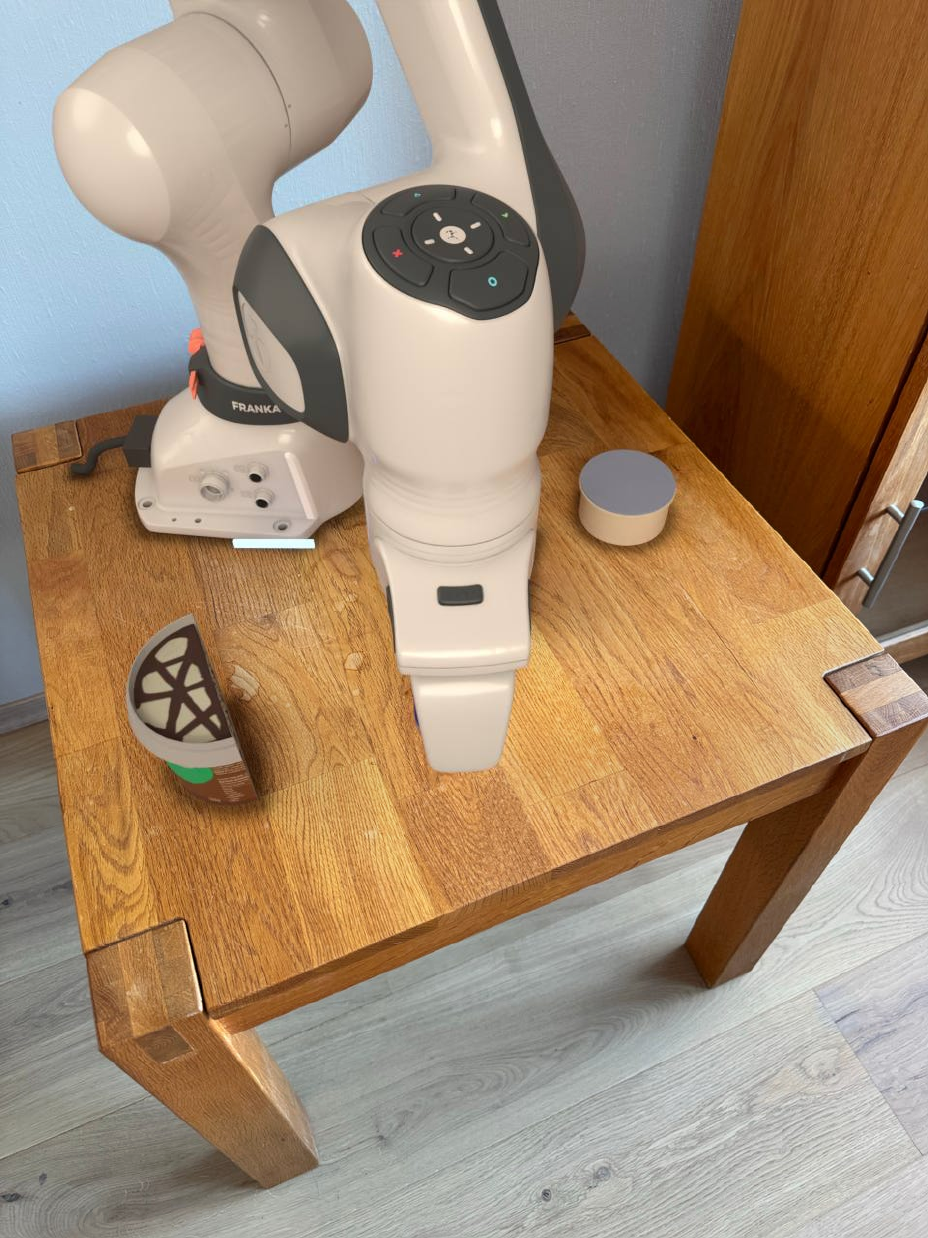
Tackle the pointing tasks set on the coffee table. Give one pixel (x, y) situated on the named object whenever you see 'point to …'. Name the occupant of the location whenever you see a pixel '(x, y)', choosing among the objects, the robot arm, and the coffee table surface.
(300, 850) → the coffee table surface
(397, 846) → the coffee table surface
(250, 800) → the food container
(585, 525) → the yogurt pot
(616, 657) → the coffee table surface
